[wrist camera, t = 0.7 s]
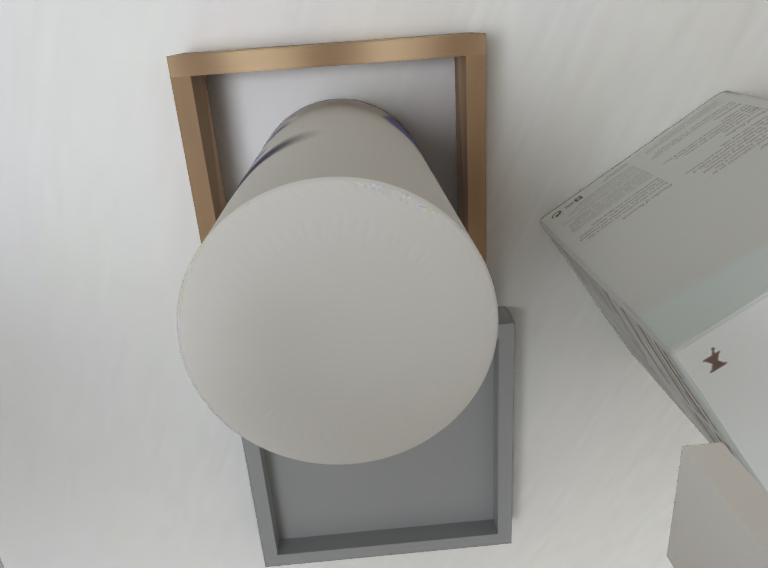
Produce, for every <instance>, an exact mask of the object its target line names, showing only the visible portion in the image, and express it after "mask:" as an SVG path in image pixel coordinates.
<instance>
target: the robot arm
mask: <svg viewBox="0 0 768 568" xmlns="http://www.w3.org/2000/svg"><path fill="white" fill-rule="evenodd" d="M667 557H668V559H669V560H670V562H671V564H672V565H673V567H674V568H768V493H767V492H766V491H765V490H764V489H763V488H762V486H761V485H760V484H759V483H758V482H757V481H756V480H755V479H754V477H753V476H752V475H751V474H750V473H749V472H748V471H747V470H746V469H745V467H744V466H743V465H742V464H741V463H740V462H739V461H738V460H737V458H736V457H735V456H734V455H733V454H732V453H731V452H730V451H729V450H728V448H727V447H726V446H725V445H724V444H723V443H722V442H720V443H709V444H698V445H687V446H682V452H681V459H680V466H679V473H678V480H677V487H676V494H675V501H674V509H673V516H672V523H671V530H670V537H669V544H668V551H667ZM0 568H4V566H3V564H2V561H1V559H0Z"/></svg>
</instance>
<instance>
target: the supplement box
mask: <svg viewBox="0 0 768 568" xmlns="http://www.w3.org/2000/svg"><path fill="white" fill-rule="evenodd" d="M540 222H541V224H542V225H543V227H544V228H545V230H546V231H547V233H548V234H549V235H550V237H551V238H552V240H553V241H554V243H555V244H556V246H557V247H558V249H559V250H560V251H561V253H562V254H563V256H564V257H565V259H566V260H567V262H568V263H569V264H570V266H571V267H572V269H573V270H574V272H575V273H576V275H577V276H578V277H579V279H580V280H581V282H582V283H583V285H584V286H585V288H586V289H587V291H588V292H589V293H590V295H591V296H592V298H593V299H594V301H595V302H596V304H597V305H598V307H599V308H600V309H601V311H602V312H603V314H604V315H605V317H606V318H607V320H608V321H609V323H610V324H611V325H612V327H613V328H614V330H615V331H616V332H617V334H618V335H619V337H620V338H621V340H622V341H623V342H624V344H625V345H626V346H627V348H628V349H629V351H630V352H631V353H632V355H633V356H634V357H635V358H636V359H637V360H638V361H639V362H640V363H641V364H642V366H643V367H644V368H645V369H646V370H647V371H648V372H649V374H650V375H651V376H652V377H653V378H654V379H655V380H656V382H657V383H658V384H659V385H660V386H661V387H662V389H663V390H664V391H665V392H666V393H667V394H668V395H669V397H670V398H671V399H672V400H673V401H674V402H675V403H676V405H677V406H678V407H679V408H680V409H681V410H682V411H683V413H684V414H685V415H686V416H687V417H688V418H689V419H690V421H691V422H692V423H693V424H694V425H695V426H696V427H697V429H698V430H699V431H700V432H701V433H702V434H703V435H704V437H705V438H706V439H707V440H708V441H709V442H710V443H720V442H722V443H723V444H724V445H725V446H726V447H727V448H728V450H729V451H730V452H731V453H732V454H733V455H734V456H735V457H736V458H737V460H738V461H739V462H740V463H741V464H742V465H743V466H744V467H745V469H746V470H747V471H748V472H749V473H750V474H751V475H752V476H753V477H754V479H755V480H756V481H757V482H758V483H759V484H760V485H761V486H762V488H763V489H764V490H765V491H766V492H767V493H768V99H764V98H758V97H753V96H748V95H743V94H738V93H733V92H729V91H724V92H722V93H720V94H718V95H716V96H715V97H713V98H712V99H710V100H709V101H708V102H706V103H705V104H703V105H702V106H701V107H699V108H698V109H696V110H695V111H693V112H692V113H691V114H689V115H688V116H686V117H685V118H684V119H682V120H681V121H679V122H678V123H676V124H675V125H674V126H672V127H671V128H669V129H668V130H667V131H665V132H664V133H662V134H661V135H659V136H658V137H657V138H655V139H654V140H652V141H651V142H649V143H648V144H647V145H645V146H644V147H642V148H641V149H640V150H638V151H637V152H635V153H634V154H632V155H631V156H630V157H628V158H627V159H625V160H624V161H623V162H621V163H620V164H618V165H617V166H616V167H614V168H613V169H611V170H610V171H608V172H607V173H606V174H604V175H603V176H601V177H600V178H598V179H597V180H596V181H594V182H593V183H591V184H590V185H589V186H587V187H586V188H584V189H583V190H582V191H580V192H579V193H577V194H576V195H575V196H573V197H572V198H570V199H569V200H567V201H566V202H565V203H563V204H562V205H560V206H559V207H557V208H556V209H555V210H553V211H552V212H550V213H549V214H548V215H546V216H545V217H543V218H542V219H541V221H540Z"/></svg>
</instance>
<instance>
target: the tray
mask: <svg viewBox="0 0 768 568" xmlns="http://www.w3.org/2000/svg"><path fill="white" fill-rule="evenodd" d="M514 340H515V323H514V321H513V319H512V317H511V316H510V314H509V312H508V310H507V309H506V307H498V335H497V342H496V347H495V352H494V355H493V359H492V362H491V365H490V367H489V370H488V372H487V374H486V377H485V379H484V381H483V383H482V384H481V386H480V388H479V390H478V391H477V393H476V394H475V396H474V397H473V399H472V400H471V401H470V403H469V404H468V405H467V406H466V408H465V409H464V410H463V411H462V412H461V413H460V414H459V415H458V416H457V417H456V418H455V419H454V420H453V421H452V422H451V423H450V424H449V425H447V426H446V427H445V428H444V429H442V430H441V431H440V432H438V433H437V434H436V435H434V436H433V437H431V438H430V439H428V440H426V441H425V442H423V443H421V444H419V445H417V446H415V447H413V448H411V449H409V450H407V451H404V452H402V453H399V454H396V455H393V456H390V457H387V458H383V459H380V460H375V461H370V462H364V463H357V464H341V465H333V464H318V463H310V462H304V461H299V460H295V459H291V458H288V457H284V456H281V455H278V454H276V453H273V452H270V451H268V450H266V449H264V448H261V447H259V446H257V445H256V444H254V443H252V442H250V441H248V440H247V439H245V438H244V437H242V441H243V447H244V452H245V458H246V463H247V469H248V474H249V480H250V485H251V490H252V496H253V501H254V507H255V512H256V518H257V523H258V528H259V534H260V539H261V545H262V550H263V556H264V561H265V566H266V567H270V566H281V565H291V564H301V563H312V562H322V561H332V560H343V559H353V558H363V557H374V556H384V555H394V554H405V553H415V552H425V551H436V550H446V549H457V548H467V547H477V546H488V545H498V544H508V543H511V534H512V469H513V404H514Z"/></svg>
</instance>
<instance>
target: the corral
mask: <svg viewBox="0 0 768 568" xmlns="http://www.w3.org/2000/svg"><path fill="white" fill-rule="evenodd" d="M166 57H167V62H168V68H169V73H170V78H171V84H172V89H173V94H174V100H175V105H176V110H177V116H178V121H179V126H180V132H181V137H182V142H183V148H184V153H185V158H186V164H187V169H188V175H189V180H190V185H191V191H192V196H193V201H194V207H195V212H196V217H197V223H198V228H199V233H200V239H201V244H202V243H203V241H204V240H205V238H206V236H207V235H208V233H209V232H210V230H211V229H212V227H213V225H214V224H215V222H216V221H217V219H218V218H219V216H220V215H221V213H222V211H223V210H224V208H225V207H226V205H227V204H226V198H225V192H224V186H223V180H222V174H221V168H220V162H219V156H218V150H217V144H216V138H215V132H214V126H213V120H212V114H211V108H210V102H209V96H208V90H207V84H206V78H205V75H212V74H225V73H239V72H253V71H266V70H280V69H294V68H307V67H321V66H334V65H348V64H362V63H375V62H389V61H403V60H416V59H430V58H443V57H455V90H456V137H457V183H458V217H459V219H460V221H461V222H462V224H463V226H464V227H465V229H466V231H467V232H468V234H469V236H470V237H471V239H472V241H473V243H474V244H475V246H476V248H477V249H478V251H479V253H480V254H481V256H482V258H483V260H484V262H485V264H486V117H485V33H473V32H471V33H457V34H443V35H430V36H416V37H402V38H388V39H374V40H360V41H347V42H333V43H319V44H305V45H291V46H277V47H264V48H250V49H236V50H222V51H208V52H194V53H182V54H177V55H172V56H166Z"/></svg>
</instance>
